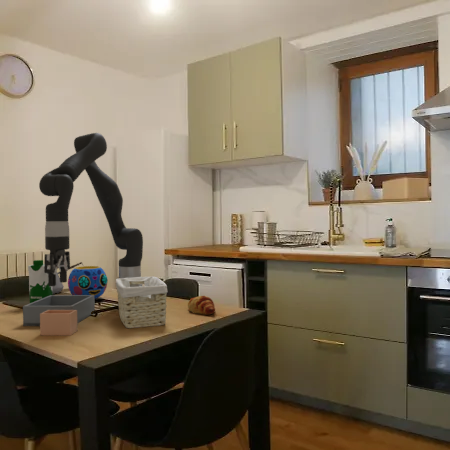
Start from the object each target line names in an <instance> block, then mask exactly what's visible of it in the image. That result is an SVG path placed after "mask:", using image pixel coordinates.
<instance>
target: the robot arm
mask: <svg viewBox="0 0 450 450" xmlns="http://www.w3.org/2000/svg"><path fill="white" fill-rule="evenodd" d="M73 147H74V150H75V153H74V154H72V155H70V156H69V157H68V158H65V160H64V161H63V162H62V163H61V164H60V165H59V166H58V167H55V168H53V169H52V170H50V171H48V172H47V173H45V174H44V175H42V177H41V178H40V180H39V191H40V192H41V193H42V195H44V196H46V197H58V198H57V200H56V201H55V202H52V203H48V204H47V205H45V224H44V226H45V227H44V243H45V245H44V246H45V250H47V251H49V253H47V254H45V253H44V260H43V264H44V272H45V273H47V274H48V285H49V286H56V271H57V272H58V269H59V272H60V274H59V278H60V282H62V283H68V271H69V270H70V269H69V268H70V267H71V259H70V258H71V257H70V256H71V255H70V254H71V253H70V251H67V250H69V249H70V226H69V207H70V204H71V200H72V195H73V192H74V187H75V186H74V182H75V181H76V180H77V179H78V178H79V177H80V175H82V173H83V172H84V171H85V172H86V173H87V176H88V179H89V180H90V183H91V185H92V188H93V189H94V191H95V192H94V193H95V194H96V197H97V200H98V202H99V204H100V206H101V209H102V210H103V213H104V215H105V218H106V220H107V221H106V222H108V223H107V224H108V226H109V230H110V232H111V237H112V240H113V242H114V244H115V246H116V247H117V248H118V249H119V250H124V251H126V253H125V254H126V255H125V256H124V257H122V258H119V260H118V278H133V277H142V271H141V270H142V269H141V268H142V267H141V266H142V259H143V250H144V249H143V248H144V247H143V246H144V238H143V233H142V231H141V230H140V229H138V228H134V227H133V228H132V227H131V228H128V227H126V226H125V223H124V221H123V218H122V210H123V203H124V201H123V196H122V193H121V191H120V188H119V185H118V184H117V182H116V181H115V180H114V179H113V178H112V177H110V176H109V175H108V174H107V173H105V172H104V171H103V170H102V169H101V168H100V167H99V166H98V164H97V162H96V160H98V159H99V158H101V157H103V156H104V155H105V154H106V152H107V149H108V144H107V141H106V138H105V136H103V135H102V134H101V133H99V132H93V133H92V132H91V133H87V134H83V135H79V136H76V137H75V138H74V141H73ZM53 269H54V270H53ZM68 269H69V270H68ZM141 286H143V284H134V285H133V284H131V285H130V287H141Z"/></svg>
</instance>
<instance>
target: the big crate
mask: <svg viewBox="0 0 450 450" xmlns="http://www.w3.org/2000/svg"><path fill="white" fill-rule="evenodd" d="M95 305H96V304H95V299H94V295H72V294H68V295H67V294H62V295H60V294H53V295H50V296H47V297H45V298H42V299H40V300H37V301H35V302H32V303H30V302H29V303H28V304H25V305H23V306H22V327H40V314H41V313H43V312H45V311H47V310H77V324H79V323H80V322H82V321H83V320H85V319H87V318H89V317H90V316H91V312H92V311H94V310H95V307H96V306H95ZM95 311H96V310H95Z"/></svg>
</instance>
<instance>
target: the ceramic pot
mask: <svg viewBox="0 0 450 450" xmlns="http://www.w3.org/2000/svg"><path fill="white" fill-rule="evenodd" d="M67 287H68V290H69V292H70V295H94V300H95V299H98V298H100V297H101V296H103V294H104V293H105V292H106V289H107V287H108V276H107V274H106V272H105V270H104V269H103V268H102V267H101V266H98V265H97V266H96V265H93V266H92V265H88V266H87V265H86V266H84V265H83V266H76V267H74V268H72V270H71V271H70V273H69V276H68V278H67Z"/></svg>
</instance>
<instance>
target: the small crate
mask: <svg viewBox="0 0 450 450" xmlns="http://www.w3.org/2000/svg"><path fill="white" fill-rule="evenodd" d="M39 327H40V328H39V329H40V330H39V331H40V333H39V334H40V336H72V335H73V334H74V333H76V332H77V331H78V323H77V310H47V311H45V312H43V313H41V314H40V326H39Z"/></svg>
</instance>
